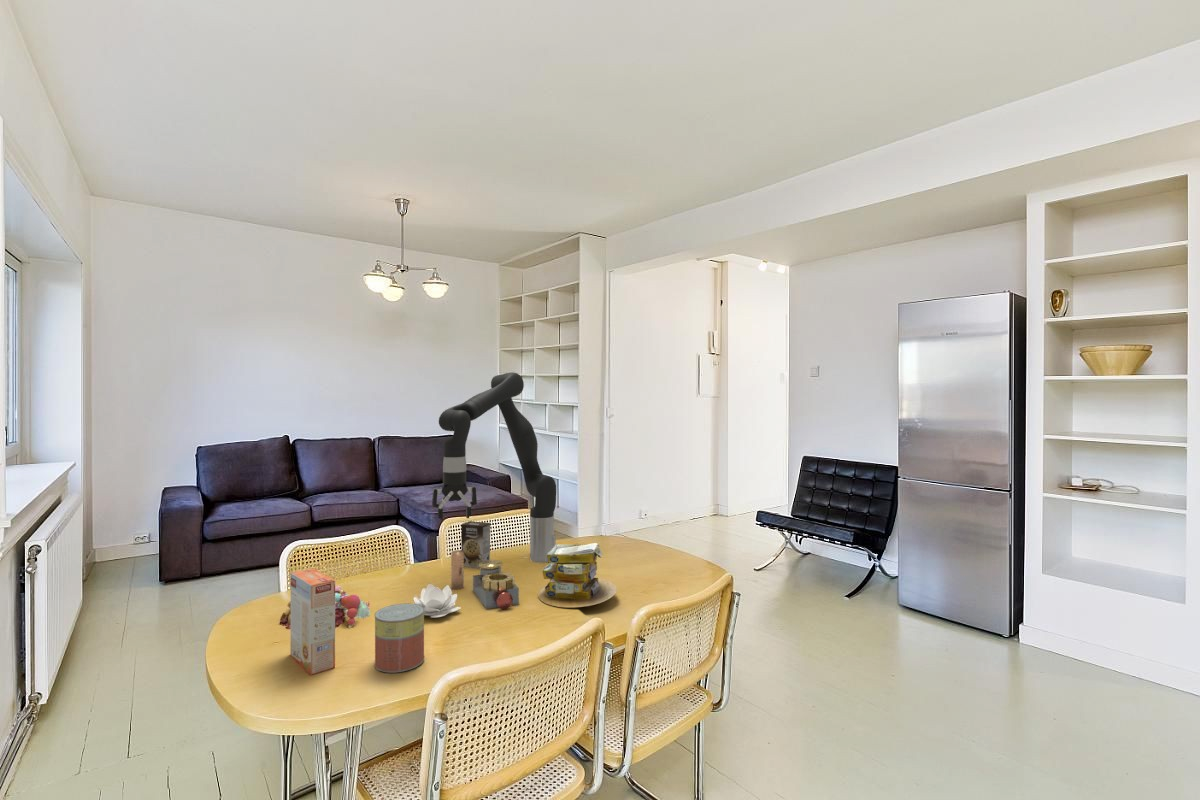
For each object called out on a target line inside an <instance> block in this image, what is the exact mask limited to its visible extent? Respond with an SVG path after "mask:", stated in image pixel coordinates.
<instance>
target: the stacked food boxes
mask: <svg viewBox="0 0 1200 800" xmlns="http://www.w3.org/2000/svg"><path fill="white" fill-rule="evenodd" d="M601 549H602V548H601V547H600V545H599V543H598V542H593V543H586V544H585V543H584V544H581V543H580V544H579V543H575V544H556V545H555V546H554V547H553V548H552V549H551V550H550V551H549V552H548V554H547V558H548V562H547V563H548V564H547V565H546V566H545V567H544V568H542V575H543V579H544V580H549V581H548V583H547V584H546V585H544V586H543V587H542V588H540V589H539V591H538V593H537V598H538V599H539V600H540V601H541V602H542V603H544V604H546V605H549V606H552V607H558V608H582V607H590V606H594V605H597V604H598V605H599V604H601V603H605V602H606V601H608V600H609V599H611V598H612V597H614V596H615V594H616V593H617V586H616V585H615V584H614V583H613V582H611V581H610V580H607V579H605V578H600V577H596V575H597V570H598V564H597V561H598V558H602V556H603V551H602V550H601Z"/></svg>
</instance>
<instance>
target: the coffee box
mask: <svg viewBox="0 0 1200 800" xmlns="http://www.w3.org/2000/svg"><path fill="white" fill-rule="evenodd" d="M460 526H461V539H460V540H461V544H460V546H461V549H460V550H462V551H464V568H470V569H471V568H472V569H478V570H479V569H480V567H479V563H480V562H483V561H488V560H491V522H485V521H484V522H483V521H472V520H471V521H466V522H464V523H461V525H460Z"/></svg>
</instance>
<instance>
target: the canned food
mask: <svg viewBox="0 0 1200 800" xmlns="http://www.w3.org/2000/svg"><path fill="white" fill-rule="evenodd" d="M424 624H425V615H424V608H423V607H422V606H421V605H418V604H415V603H411V602H410V603H409V602H408V603H397V604H391V605H388V606H384V607H382V608H380V609H377V611H376V612H374V646H375V647H374V667H375V669H376V670H377V671H380V672H383V673H389V674H390V673H402V672H406V671H407V672H408V671H410V670H413V669H415V668H417V667H419V666H420V665H422V664H423V662H425V625H424Z"/></svg>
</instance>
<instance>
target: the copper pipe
mask: <svg viewBox="0 0 1200 800" xmlns="http://www.w3.org/2000/svg"><path fill="white" fill-rule="evenodd" d="M450 555H451V556H450V557H451V564H450V566H451V567H450V569H451V571H450V572H451V573H450V576H451V577H450V581H451V584H450V585H451V586H450V589H451V590H455V591H456V590H457V591H459V590H462V589H464V588H465V587H464V586H465V585H464V583H465V579H464V578H465V577H464V576H465V573H464V571H465V567H464V551H462V550H461V549H460V550H459V549H457V550H452V551H451V554H450Z"/></svg>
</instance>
